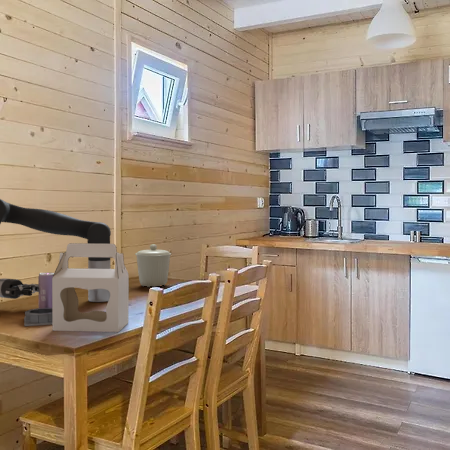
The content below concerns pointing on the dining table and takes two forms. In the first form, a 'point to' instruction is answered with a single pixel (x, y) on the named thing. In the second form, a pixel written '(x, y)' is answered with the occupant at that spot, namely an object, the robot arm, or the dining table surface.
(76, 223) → the robot arm
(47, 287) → the beverage can
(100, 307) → the dining table surface
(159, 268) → the canister
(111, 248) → the gable box
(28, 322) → the ring collar
